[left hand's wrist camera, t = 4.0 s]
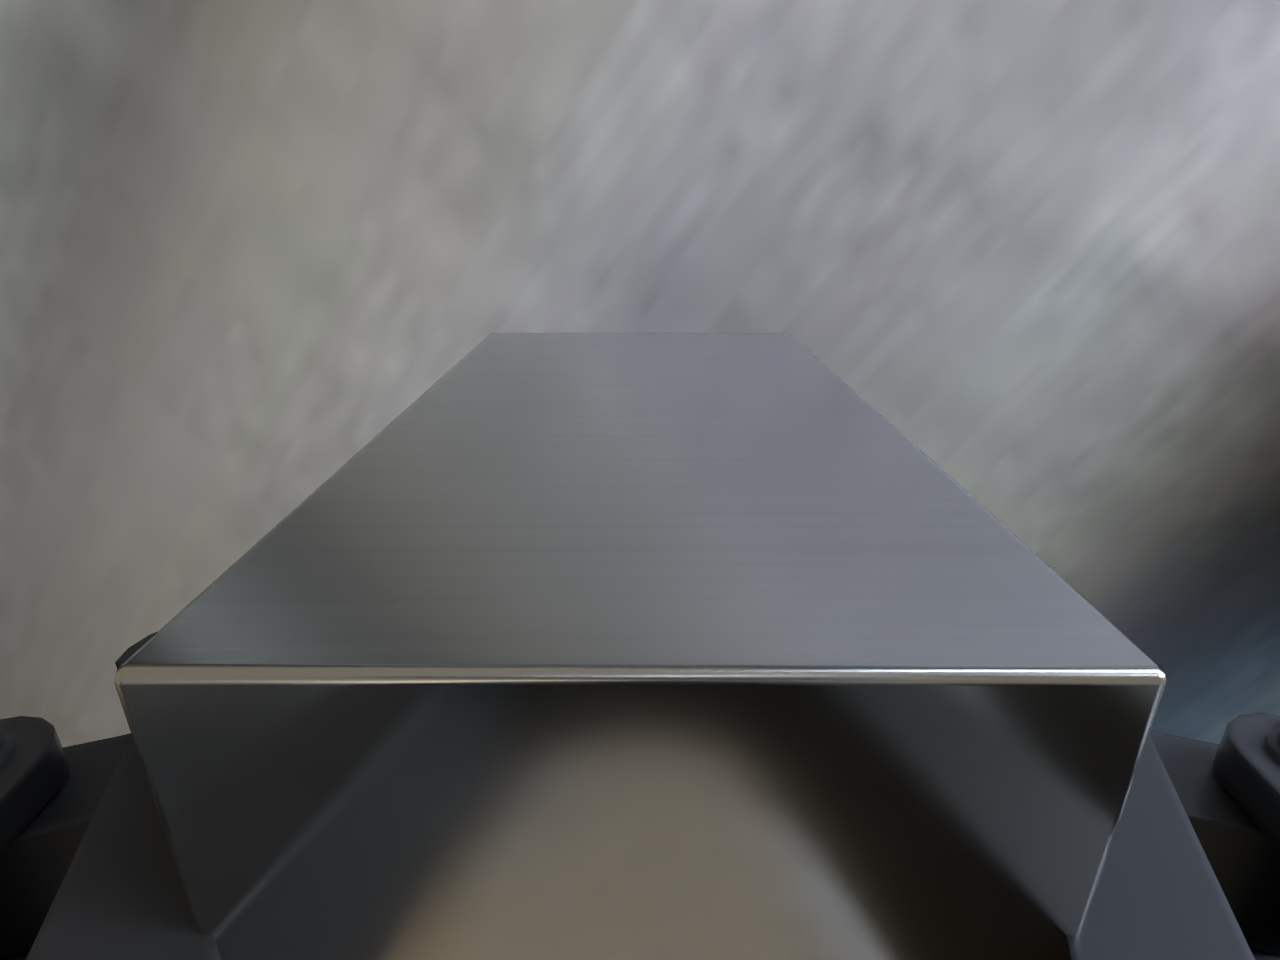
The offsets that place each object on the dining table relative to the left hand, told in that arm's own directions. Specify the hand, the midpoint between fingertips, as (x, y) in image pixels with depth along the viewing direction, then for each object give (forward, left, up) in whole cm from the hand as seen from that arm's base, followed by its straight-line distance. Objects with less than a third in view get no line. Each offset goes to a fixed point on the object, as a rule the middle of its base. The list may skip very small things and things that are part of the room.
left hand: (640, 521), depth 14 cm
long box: (+8, +4, -2) cm, 9 cm away
